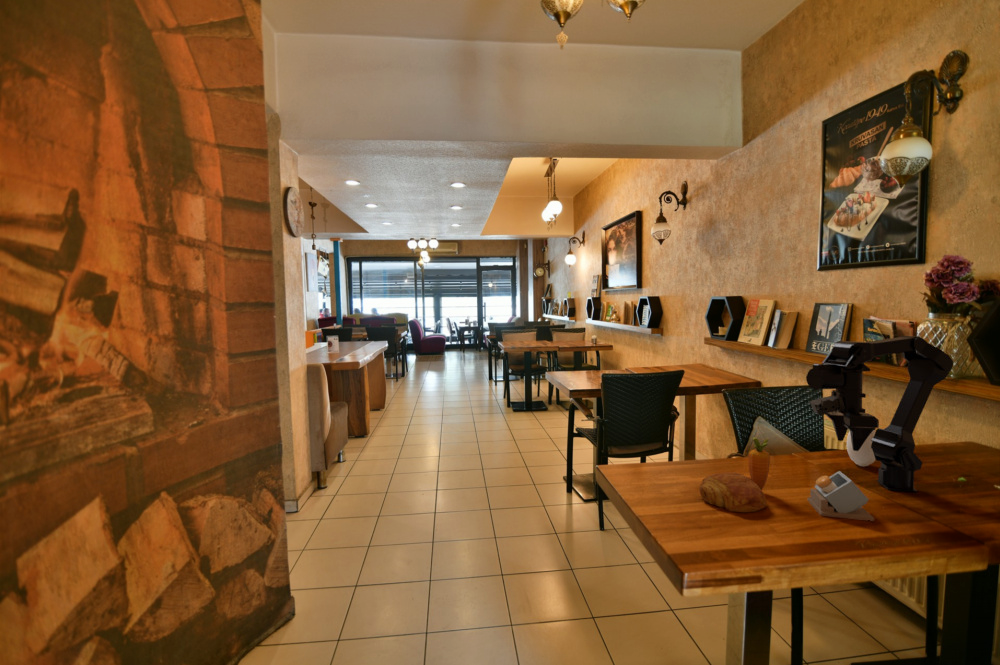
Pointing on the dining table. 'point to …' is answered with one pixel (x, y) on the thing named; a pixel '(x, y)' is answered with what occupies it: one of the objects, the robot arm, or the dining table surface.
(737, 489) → the croissant
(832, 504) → the leaning socket
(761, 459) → the carrot
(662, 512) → the dining table surface
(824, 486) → the orange-topped white peg
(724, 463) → the dining table surface
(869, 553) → the dining table surface
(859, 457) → the sauce bottle
